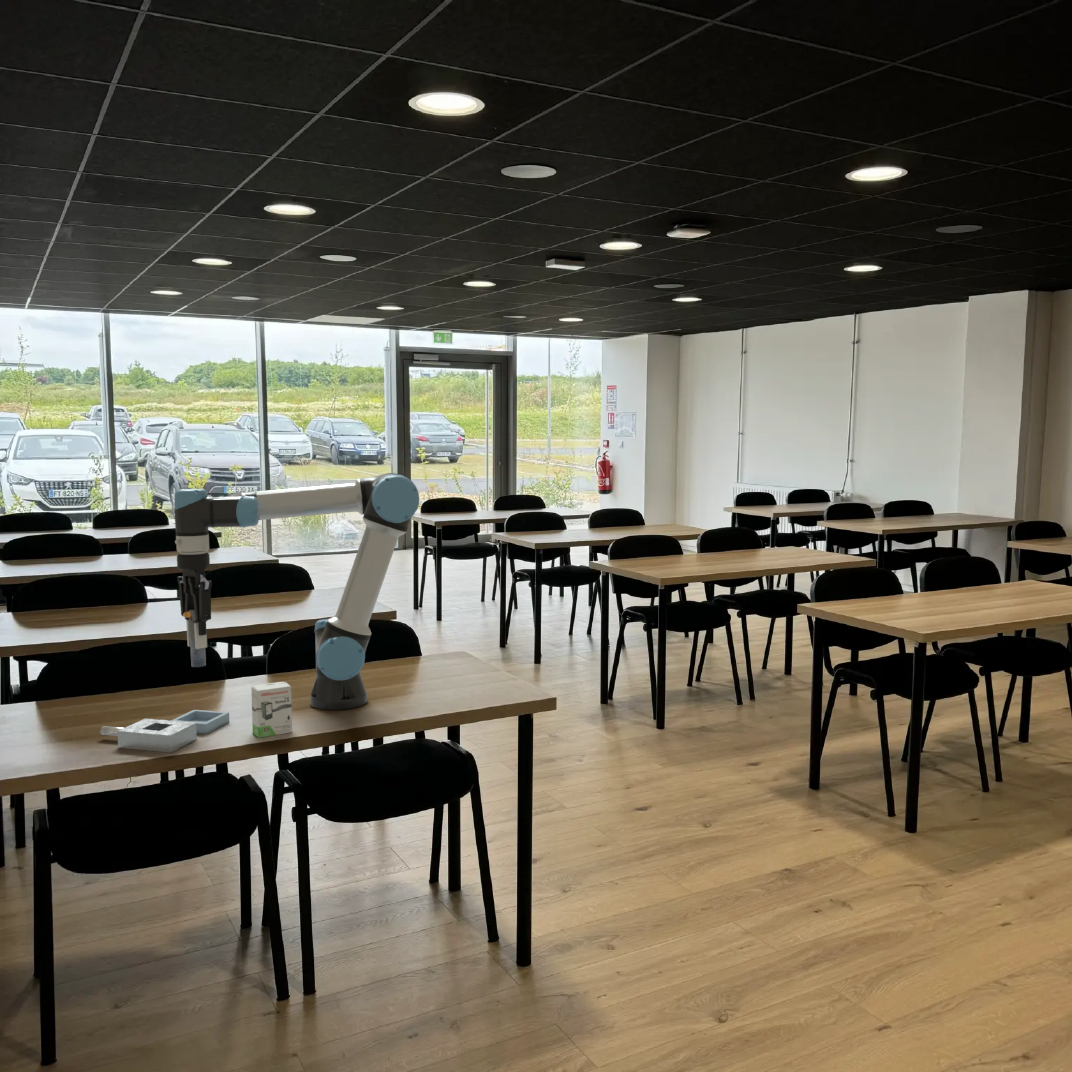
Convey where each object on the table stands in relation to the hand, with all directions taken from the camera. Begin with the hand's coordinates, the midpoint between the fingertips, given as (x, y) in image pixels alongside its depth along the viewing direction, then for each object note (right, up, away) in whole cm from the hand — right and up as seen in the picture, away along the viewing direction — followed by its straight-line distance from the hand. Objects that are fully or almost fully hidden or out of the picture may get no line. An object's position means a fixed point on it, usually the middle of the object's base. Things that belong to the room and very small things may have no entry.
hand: (197, 646), depth 235 cm
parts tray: (0, -20, +2) cm, 20 cm away
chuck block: (-9, -22, -10) cm, 25 cm away
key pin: (0, -5, +1) cm, 5 cm away
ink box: (+19, -21, -3) cm, 29 cm away
